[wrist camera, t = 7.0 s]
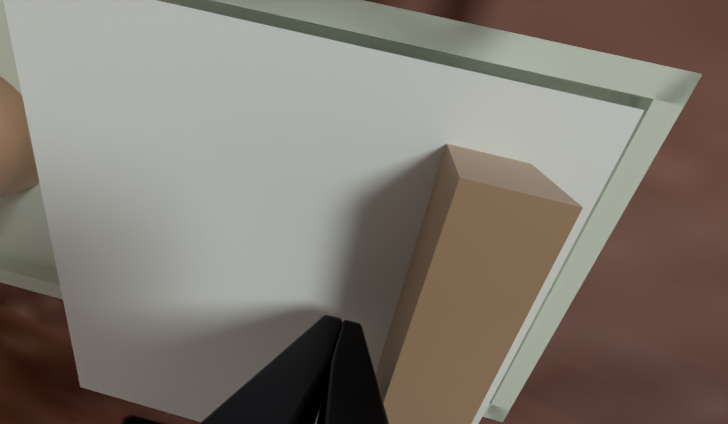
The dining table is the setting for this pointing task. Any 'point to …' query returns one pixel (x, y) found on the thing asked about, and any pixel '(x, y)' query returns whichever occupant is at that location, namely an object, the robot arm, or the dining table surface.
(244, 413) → the robot arm
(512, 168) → the frosted cover
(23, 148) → the round cabinet knob
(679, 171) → the dining table surface
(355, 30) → the propagator bed
